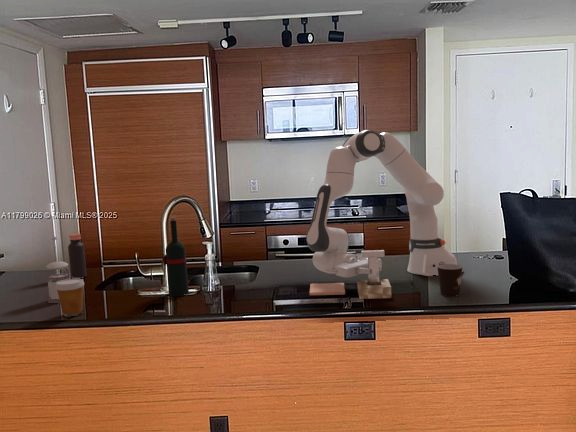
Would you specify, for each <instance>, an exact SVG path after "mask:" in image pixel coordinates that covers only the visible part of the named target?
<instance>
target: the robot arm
mask: <svg viewBox="0 0 576 432" xmlns="http://www.w3.org/2000/svg"><path fill="white" fill-rule="evenodd" d="M372 157H375V158H377V159H378V160H379V161H380V163H381V164H382V166H384V168H385V169H386V170H387V171H388V172H389V174H390V175H391V176H392V177H393V179H394V180H395V181H396V182H397V183H399V184H400V186H402V187H403V188H404V194H405V197H406V203H407V204H406V205H407V209H408V214H409V224H410V225H409V227H410V229H409V230H410V231H409V232H410V235H409V236H410V237H409V243H408V244H409V245H408V247H409V248H408V249H409V252H410V253H409V260H408V266H407V272H408V273H410V274H415V275H422V276H426V277H434V276H433V275H436V276H438V268H437V266H438V265H442V264H457V265H458V261H457V258H456V256H455V255H454V253H452V252H450V251H449V249H446V248H445V247H443V246H445V245H446V240H444V239H441V238H439V236H438V234H439V231H438V229H439V228H438V217H437V215H436V211H435V207H434V206H438V204H440V203H441V202H442V200H443V199H444V195H445V194H444V192H445V191H444V188H443V186H442V185H441V184H439V183H438V181H437V180H435V178H434V177H432V175H430V174H429V172H428V171H426V170H425V168H423V167H422V166H421V165H420V164H419V163H418V162H417V161H416V159H415V158H414V157H413V156H412V155H411V153H410V152H409V151H408V150H407V149H406V147H405V146H404V145H403V144H402V143H401V142H400V141H399V140H398V138H396V137H395V135H393V134H391V133H390V132H387V131H386V132H385V131H383V132H381V133H378V132H377V131H374V130H372V129H365V130H362V131H359V132H357V133H355V134H353V135H352V136H350V137H349V138H347V139H346V140H345V141H344V142H343V144H342V145H341V146H336V147H334V148H332V149H331V151H330V152H329V156H328V159H327V164H326V170H325V178H324V181H323V184H322V185H321V186H320V188H319V189H318V190H317V194H316V198H315V202H314V206H313V211H312V217H311V221H310V224H309V227H308V230H307V232H306V237H305V240H306V241H305V242H306V244H307V246H308V248H309V249H310V250H311V251H312V252H314V253H313V256H312V263H313V266H314V267H315V268H316V269H317V270H319V271H320V272H323V273H326V274H331V275H334V274H335V276H337V277H340V278H346V279H347V278H352V277H355V276H359V275H363V274H366V275H368V274H371V273H372V269H369V268H368V258H367V257H362V253H348V250H349V245H350V236H349V234H348V233H347V231H346V230H345V229H343V228H338V227H331V226H330V227H329V226H327V222H328V217H329V214H330V213H329V212H330V208H331V204H332V203H333V202H334V201H336V200H338V199H341V198H342V197H345V196H347V195H348V194H349V193H350V192H351V191H352V189H353V187H354V182H355V181H354V180H355V179H354V178H355V167H356V164H357V163H359V162H362V161H366V160H368V159H370V158H372ZM382 264H383V261H382V259H381V258H380V257H379V272H381V271H382V268H383V267H382V266H383V265H382ZM462 272H463V273H464V270H463V269H462Z"/></svg>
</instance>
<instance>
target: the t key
mask: <svg viewBox="0 0 576 432" xmlns="http://www.w3.org/2000/svg"><path fill="white" fill-rule="evenodd" d="M361 254H362V257H367V258H368V268H369V269H372V273H371V274H367V280H368V285H379V279H380V271H379V258H380V257H381V258H383V257H385V250H384V249H380V250H379V249H375V250H361Z"/></svg>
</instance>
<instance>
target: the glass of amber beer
mask: <svg viewBox="0 0 576 432" xmlns="http://www.w3.org/2000/svg"><path fill="white" fill-rule="evenodd" d="M84 286H85V282H84V278H83V279H80V278H72V279H71V278H70V279H65V278H64V279H63V280H61V281H58V282H57V283H56V286H55V288H56V289H57V292H58V296H59V300H60V307H61V313H62V314H63V313H64V314H75V313H79V312H81V311H82V310H83V308H84V307H83V305H84Z"/></svg>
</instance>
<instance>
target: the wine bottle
mask: <svg viewBox="0 0 576 432" xmlns="http://www.w3.org/2000/svg"><path fill="white" fill-rule="evenodd" d="M170 232H171V233H170V234H171V242H169V243H168V244H167V245H166V247H165V254H164V255H163V256H162V263H163V279H162V282H161V283H164V281H165V278H166V277H167V286H168V288H167V289H168V296H169V295H171V296H170V297H181V296H180V295H183V296H185V295H184V294H187V293H188V292H189V293H190V291H189V280H188V279H189V277H188V267H187V265H188V263H187V255H186V252H187V251H186V246H185V245H184V244H183V243H182V242H181V241H179V239H178V225H177V220H176V216H171V217H170ZM166 273H167V275H166ZM189 293H188V294H189ZM188 294H187V295H188Z"/></svg>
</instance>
